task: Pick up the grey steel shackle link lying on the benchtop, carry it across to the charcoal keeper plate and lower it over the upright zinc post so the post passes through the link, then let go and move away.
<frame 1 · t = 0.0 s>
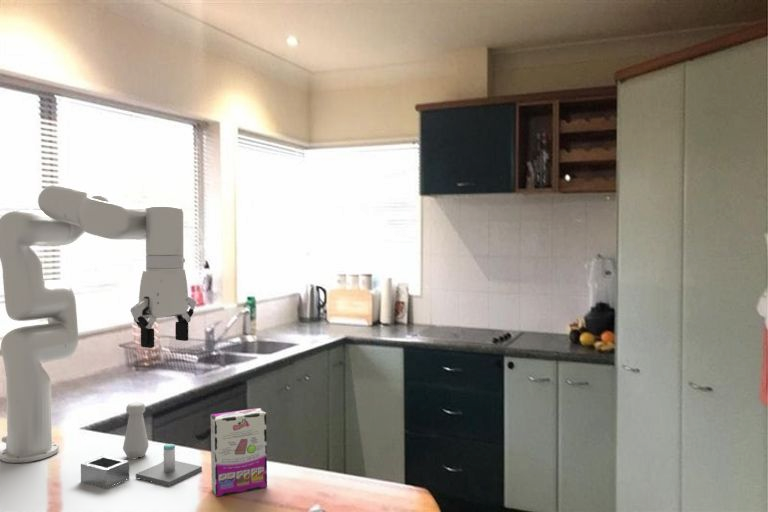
hand: (165, 343, 133), 31 cm above the counter, tool pointing down, fingers open, 9 cm apart
keeper post: (169, 474, 142), on the counter
salt shaker: (135, 456, 153), on the counter
candy bar box: (238, 489, 134), on the counter
link: (105, 480, 138), on the counter
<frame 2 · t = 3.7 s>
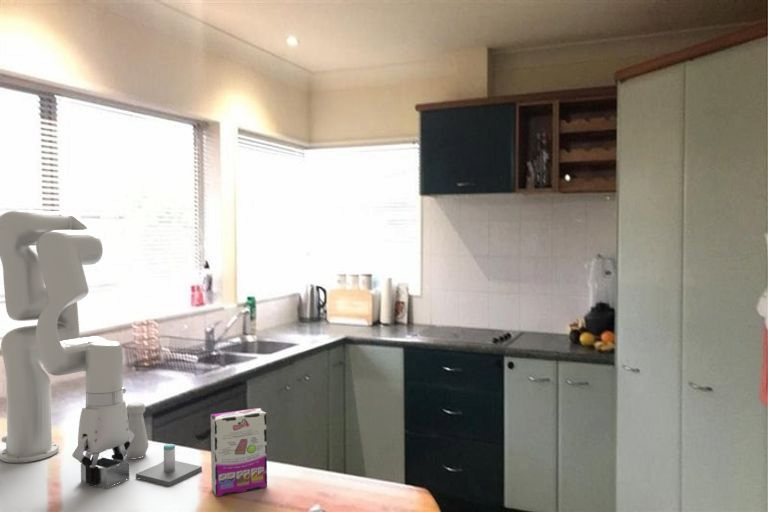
hand: (105, 477, 138), 1 cm above the counter, tool pointing down, fingers closed on link, 6 cm apart
link: (105, 480, 138), on the counter, touching gripper
everything else where it was.
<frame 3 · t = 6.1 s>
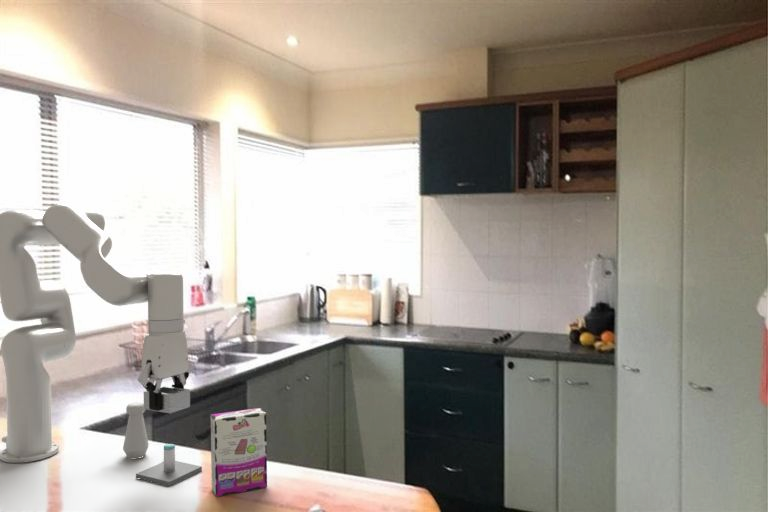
hand: (166, 405, 141), 16 cm above the counter, tool pointing down, fingers closed on link, 6 cm apart
link: (167, 407, 141), point 15 cm above the counter, touching gripper
everything else where it was.
when the fingers open (4 cm above the counter, at t = 8.9 s): link drops 2 cm, resting on keeper post.
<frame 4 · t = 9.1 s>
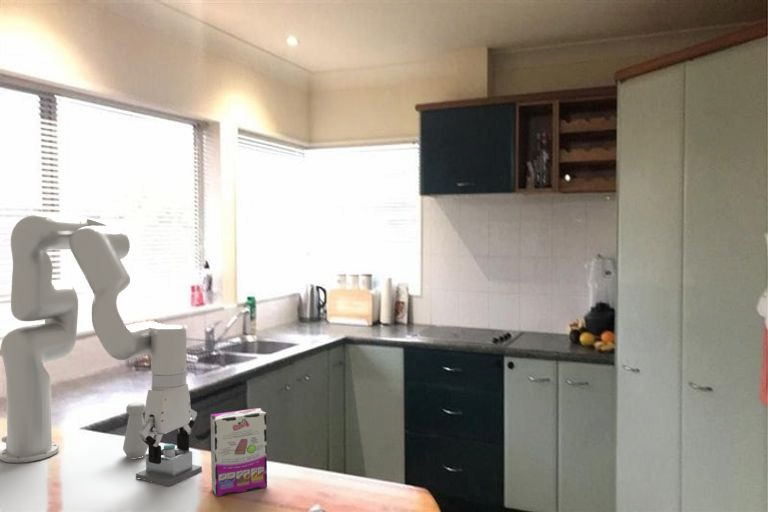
hand: (169, 456, 141), 4 cm above the counter, tool pointing down, fingers open, 8 cm apart
link: (169, 470, 142), point 1 cm above the counter, touching keeper post
everything else where it was.
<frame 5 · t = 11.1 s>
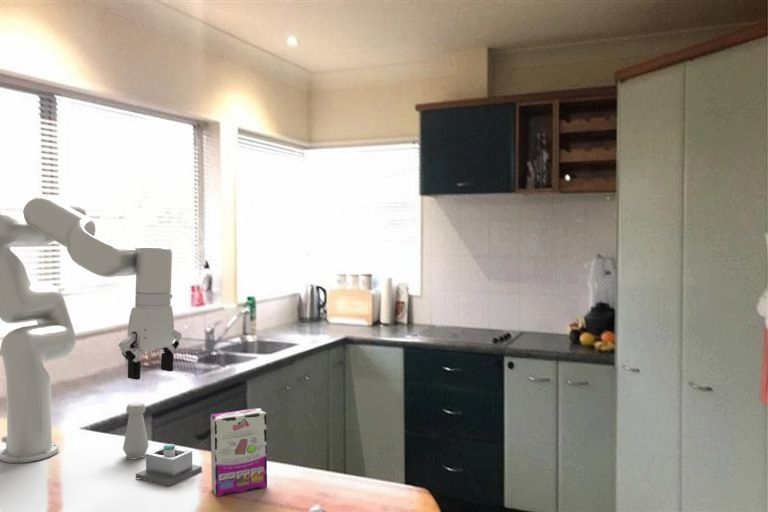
hand: (150, 374, 142), 22 cm above the counter, tool pointing down, fingers open, 9 cm apart
nothing on the counter moved.
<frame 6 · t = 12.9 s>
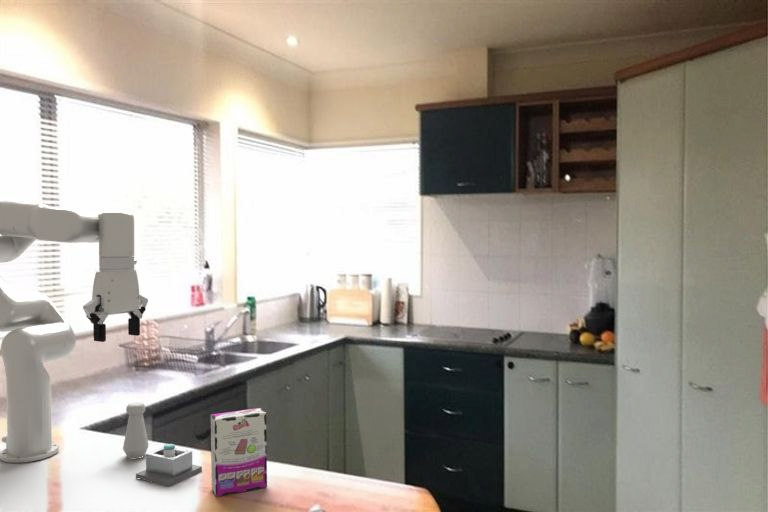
hand: (117, 338, 145), 30 cm above the counter, tool pointing down, fingers open, 9 cm apart
nothing on the counter moved.
at the end: link 0.0 cm off-centre on the keeper post, point 1.0 cm above the keeper post's base; link tilted 0°; the gripper is holding nothing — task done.
